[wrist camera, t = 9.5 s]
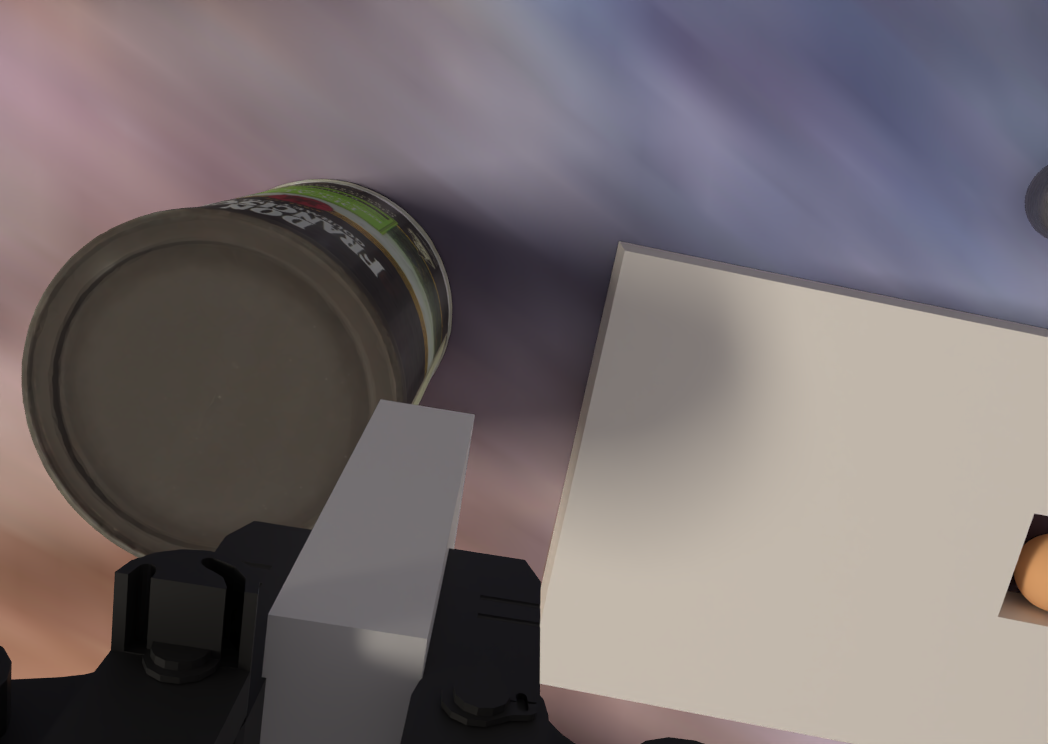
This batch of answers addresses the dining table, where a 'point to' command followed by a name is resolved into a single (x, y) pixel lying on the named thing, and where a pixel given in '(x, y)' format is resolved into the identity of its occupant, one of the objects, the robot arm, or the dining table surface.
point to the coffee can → (229, 359)
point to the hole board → (802, 510)
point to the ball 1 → (1038, 202)
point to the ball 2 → (1034, 571)
